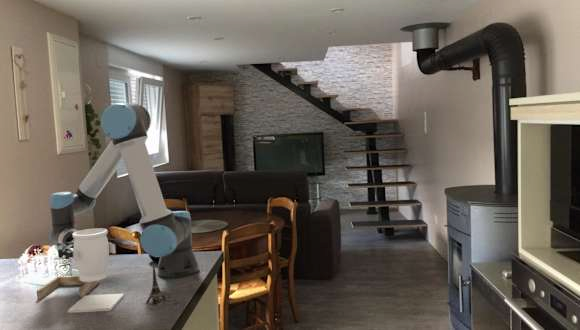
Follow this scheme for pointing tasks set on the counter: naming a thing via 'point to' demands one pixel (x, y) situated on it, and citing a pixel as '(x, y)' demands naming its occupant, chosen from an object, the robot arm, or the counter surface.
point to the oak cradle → (66, 281)
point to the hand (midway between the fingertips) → (96, 252)
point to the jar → (92, 253)
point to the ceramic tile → (96, 303)
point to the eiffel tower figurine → (157, 293)
